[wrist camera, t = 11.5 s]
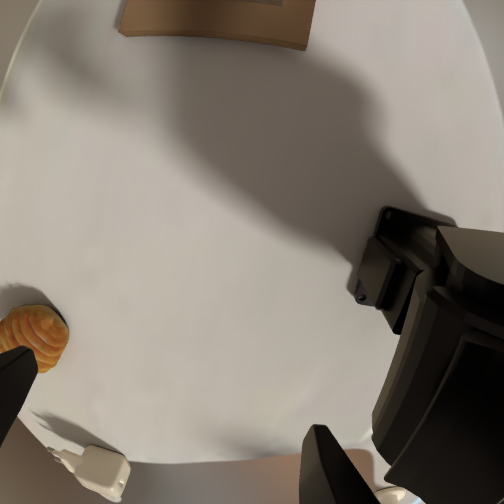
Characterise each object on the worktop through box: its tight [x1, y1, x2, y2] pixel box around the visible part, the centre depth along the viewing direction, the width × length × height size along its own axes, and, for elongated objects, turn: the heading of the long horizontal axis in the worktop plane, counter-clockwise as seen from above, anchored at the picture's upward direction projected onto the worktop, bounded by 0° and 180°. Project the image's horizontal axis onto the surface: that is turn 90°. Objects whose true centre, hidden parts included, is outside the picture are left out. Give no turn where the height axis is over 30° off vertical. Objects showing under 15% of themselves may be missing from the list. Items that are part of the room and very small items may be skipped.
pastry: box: [0, 304, 69, 373], centre depth 21 cm, size 9×7×4 cm
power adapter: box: [47, 445, 130, 498], centre depth 27 cm, size 11×5×6 cm, turn 87°
